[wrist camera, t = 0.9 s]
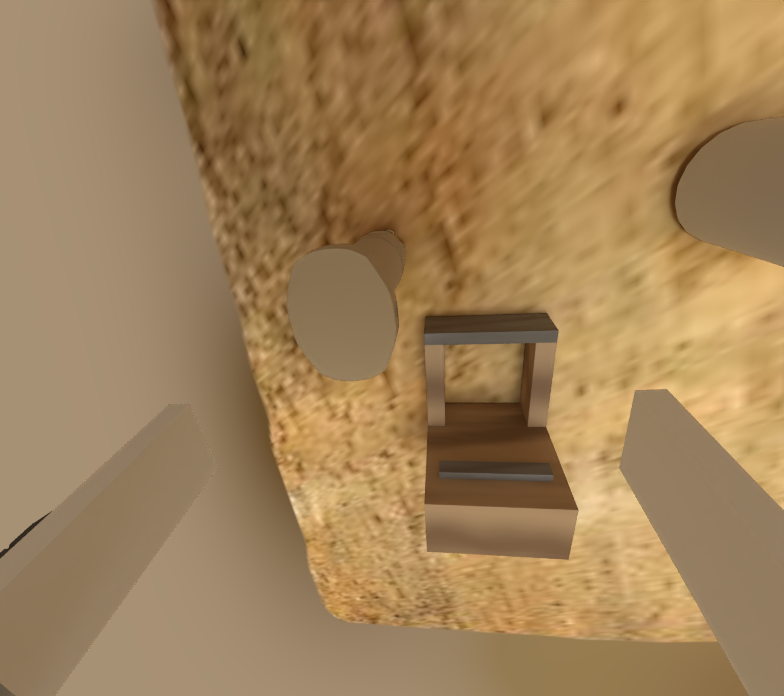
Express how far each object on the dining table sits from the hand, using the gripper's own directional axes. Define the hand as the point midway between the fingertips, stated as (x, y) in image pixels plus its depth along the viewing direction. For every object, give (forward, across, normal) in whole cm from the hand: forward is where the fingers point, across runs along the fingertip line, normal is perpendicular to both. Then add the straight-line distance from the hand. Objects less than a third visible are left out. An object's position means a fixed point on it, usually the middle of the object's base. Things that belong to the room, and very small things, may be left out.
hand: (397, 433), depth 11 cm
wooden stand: (+21, +4, -13) cm, 25 cm away
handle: (+22, -3, +1) cm, 22 cm away
